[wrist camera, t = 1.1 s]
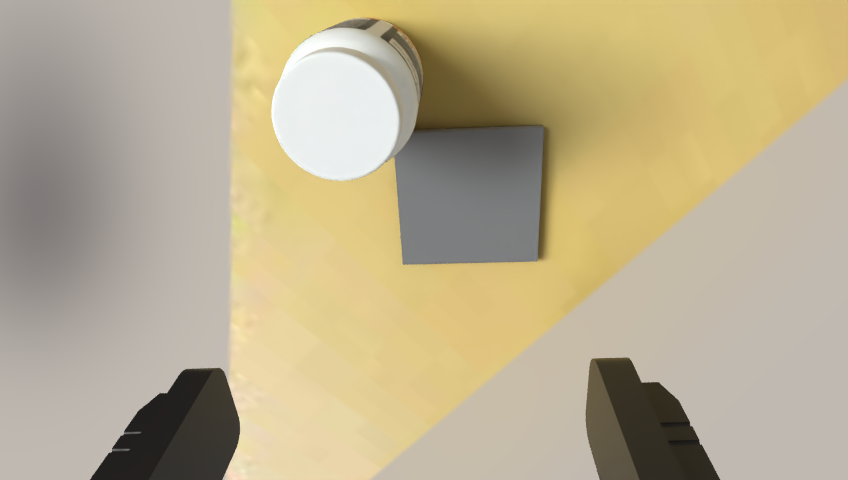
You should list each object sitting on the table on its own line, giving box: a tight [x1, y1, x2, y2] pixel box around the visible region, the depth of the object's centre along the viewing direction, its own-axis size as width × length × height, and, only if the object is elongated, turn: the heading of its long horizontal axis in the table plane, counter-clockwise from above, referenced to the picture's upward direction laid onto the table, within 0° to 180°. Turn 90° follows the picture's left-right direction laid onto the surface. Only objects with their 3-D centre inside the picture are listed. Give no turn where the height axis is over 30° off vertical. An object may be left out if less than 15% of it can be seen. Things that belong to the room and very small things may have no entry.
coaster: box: [395, 125, 544, 265], centre depth 30 cm, size 8×8×1 cm
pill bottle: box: [272, 18, 423, 181], centre depth 23 cm, size 6×6×10 cm
